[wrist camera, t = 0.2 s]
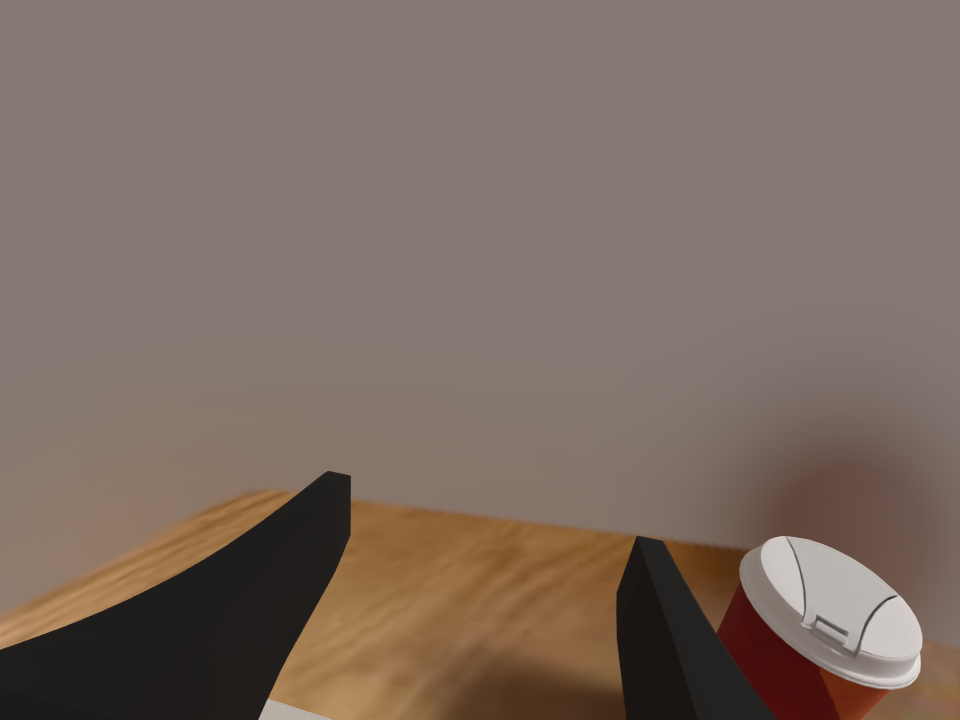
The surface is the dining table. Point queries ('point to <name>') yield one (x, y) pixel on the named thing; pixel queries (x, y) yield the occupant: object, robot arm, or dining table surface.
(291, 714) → the stoneware tile
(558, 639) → the dining table surface
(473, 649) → the dining table surface
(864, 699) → the paper cup
